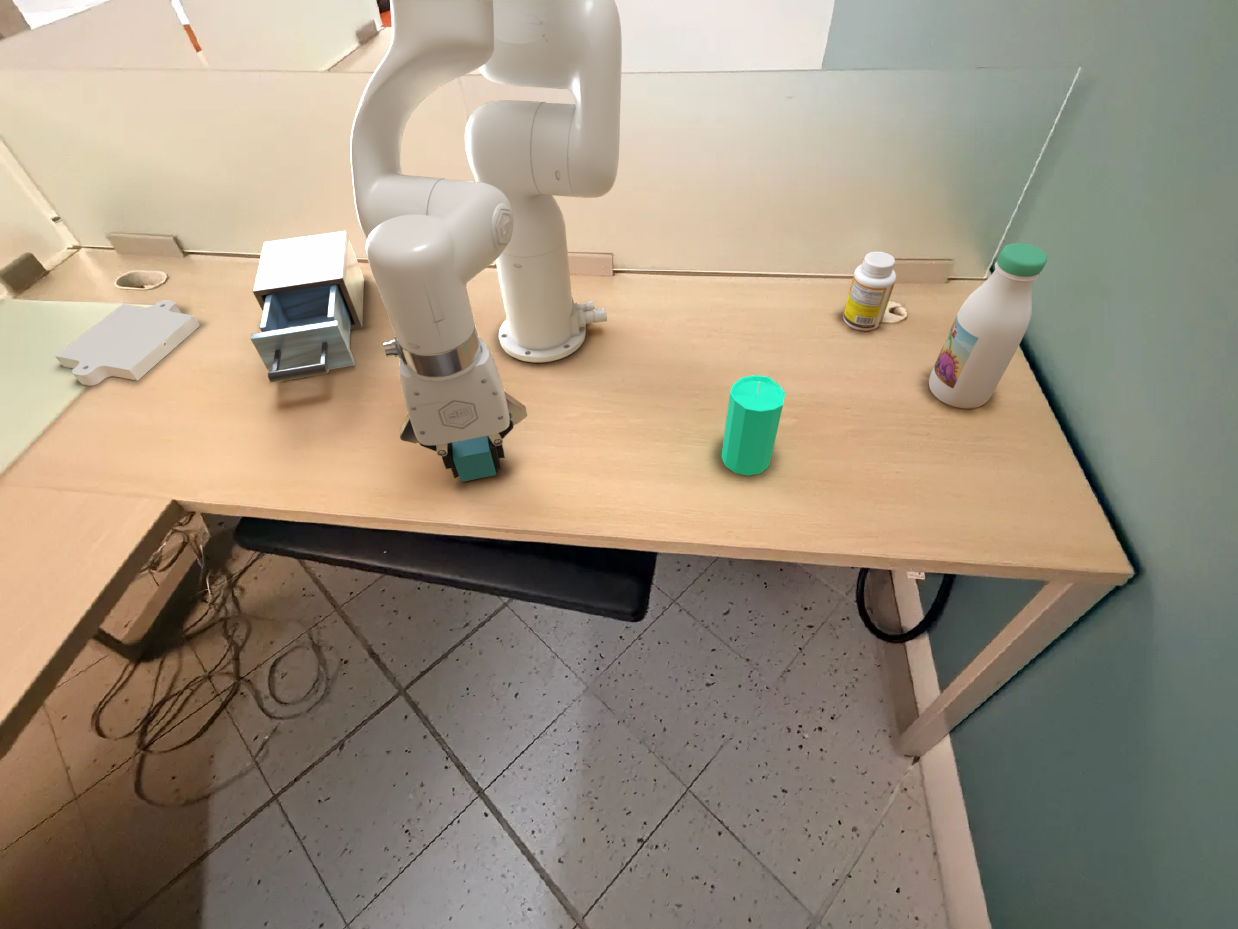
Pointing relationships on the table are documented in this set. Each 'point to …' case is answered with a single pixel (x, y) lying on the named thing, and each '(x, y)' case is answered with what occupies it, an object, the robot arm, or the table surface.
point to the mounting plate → (127, 342)
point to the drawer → (304, 333)
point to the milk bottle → (988, 330)
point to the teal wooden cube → (473, 458)
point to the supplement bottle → (870, 291)
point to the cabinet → (312, 269)
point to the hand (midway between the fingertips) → (476, 463)
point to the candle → (752, 424)
